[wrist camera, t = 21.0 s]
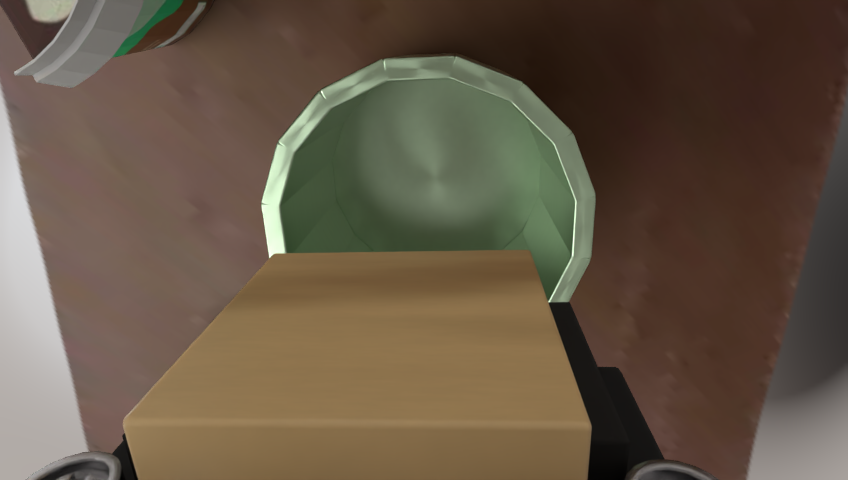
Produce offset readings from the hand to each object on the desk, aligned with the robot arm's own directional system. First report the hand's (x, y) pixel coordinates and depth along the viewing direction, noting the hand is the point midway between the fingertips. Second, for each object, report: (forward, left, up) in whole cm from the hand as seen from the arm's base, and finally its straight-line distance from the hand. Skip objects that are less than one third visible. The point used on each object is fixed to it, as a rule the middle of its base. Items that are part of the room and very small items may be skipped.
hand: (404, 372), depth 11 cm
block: (0, 0, 0) cm, 0 cm away
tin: (0, 0, -17) cm, 17 cm away
